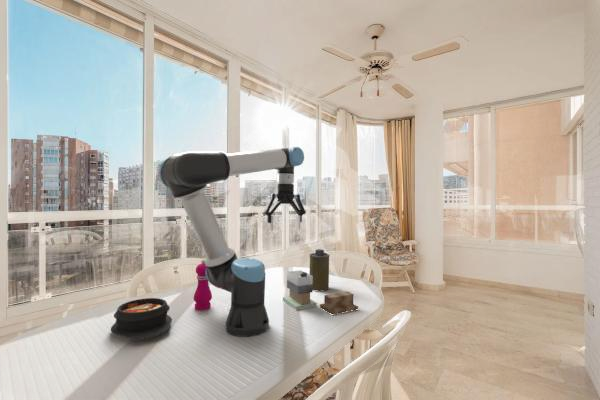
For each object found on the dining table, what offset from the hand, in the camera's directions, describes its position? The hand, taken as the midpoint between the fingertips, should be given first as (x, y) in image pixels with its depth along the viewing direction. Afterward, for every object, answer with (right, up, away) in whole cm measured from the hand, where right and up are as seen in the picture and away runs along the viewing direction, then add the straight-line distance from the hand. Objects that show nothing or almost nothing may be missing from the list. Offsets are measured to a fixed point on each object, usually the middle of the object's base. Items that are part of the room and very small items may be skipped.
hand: (284, 229), depth 136 cm
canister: (+17, -32, +18) cm, 41 cm away
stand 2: (+23, -32, -11) cm, 41 cm away
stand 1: (+7, -32, -5) cm, 33 cm away
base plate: (+7, -26, -5) cm, 27 cm away
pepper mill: (-33, -31, -13) cm, 48 cm away
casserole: (-47, -31, -34) cm, 66 cm away
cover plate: (+7, -22, -5) cm, 24 cm away
